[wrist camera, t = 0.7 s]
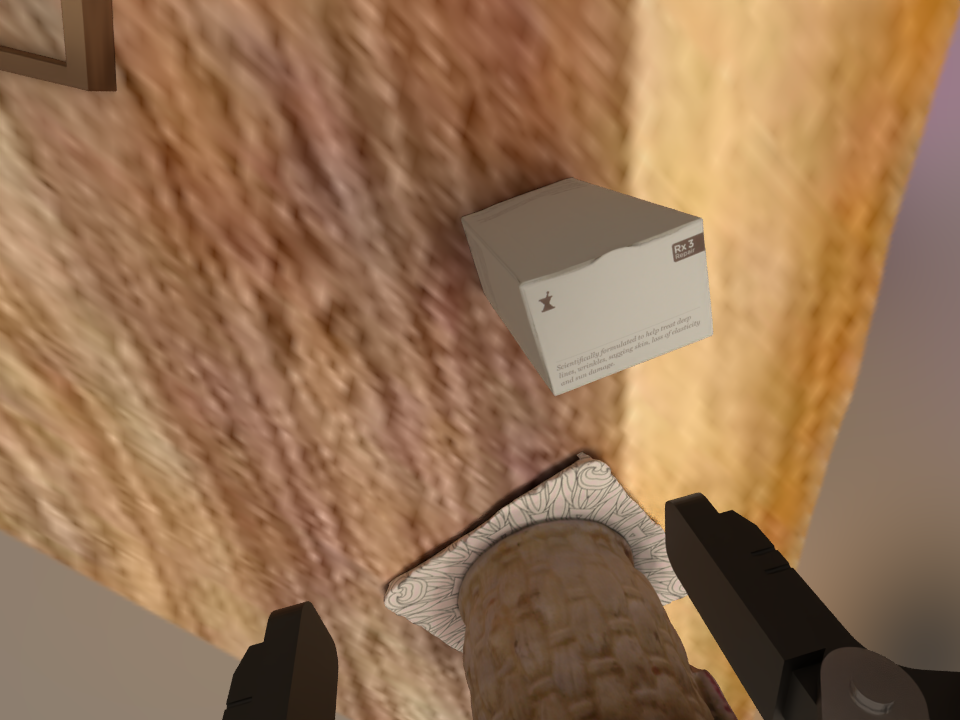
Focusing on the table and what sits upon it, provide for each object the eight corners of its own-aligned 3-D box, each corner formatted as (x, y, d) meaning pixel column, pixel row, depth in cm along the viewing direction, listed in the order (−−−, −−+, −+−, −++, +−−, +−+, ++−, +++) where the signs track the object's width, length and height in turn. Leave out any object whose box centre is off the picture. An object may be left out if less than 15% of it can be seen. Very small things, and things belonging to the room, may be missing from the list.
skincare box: (483, 293, 36) (545, 408, 23) (457, 211, 33) (510, 289, 20) (595, 253, 36) (719, 345, 23) (578, 167, 33) (711, 217, 20)
